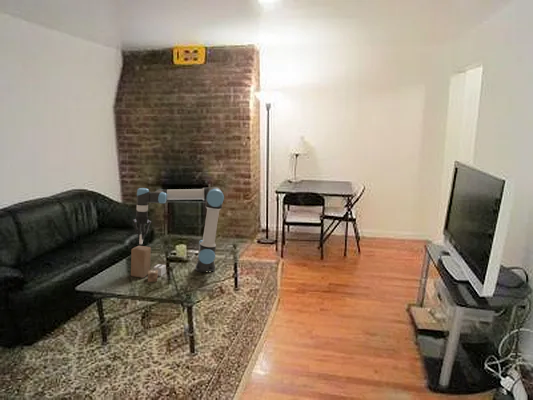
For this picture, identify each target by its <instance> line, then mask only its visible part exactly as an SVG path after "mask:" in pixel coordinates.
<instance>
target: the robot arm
mask: <svg viewBox="0 0 533 400" xmlns="http://www.w3.org/2000/svg"><path fill="white" fill-rule="evenodd" d="M170 200H171V201H172V200H173V201H175V200H176V201H177V200H179V201H180V200H186V201H187V200H202V201H203V202H204V201H205V208H206V216H205V221H204V230H203V236H202V239H200V240H199V241H198V254H197V262H196V264H195V269H194V270H195V271H196V272H198V273H202V272H206V271H213V272H215V271H216V264H215V258H216V249H217V244H216V242H215V241H216V236H217V229H218V223H219V222H218V220H219V214H220V211H221V210H222V209H223V202H224V200H225V196H224V193H223V190H222V189H221V188H219V187H218V186H212V187H211V186H208V187H202V188H191V189H190V188H188V189H187V188H185V189H184V188H183V189H181V188H179V189H171V188H170V189H163V188H158V189H156V190H155V191H150V190H149V188H146V187H139V188H137V192H136V212H135V214H136V215H135V216H136V217H135V219H132V223H133V227H134V231H135V233H134V234H135V235H137V239H138V240H139V241H138V242H139V243H138V244H139V245H143V242H144V239H145V235H147V234H148V232H149V228H150V226H151V223H152V220H149V211H148V210H149V203H151V204H166V202H167V201H170ZM146 223H147V224H146ZM214 270H215V271H214Z"/></svg>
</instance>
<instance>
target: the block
mask: <svg viewBox="0 0 533 400" xmlns="http://www.w3.org/2000/svg"><path fill="white" fill-rule="evenodd" d="M130 251H131V252H130V253H131V255H130V257H131V258H130V259H131V260H130V262H131V263H130V276H131V277H135V278H142V279H143V278H145V277H148V271H149V270H151V254H152V247H150V246H144V245H137V246H134V247H132V248H131V250H130Z"/></svg>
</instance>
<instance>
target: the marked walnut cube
mask: <svg viewBox="0 0 533 400" xmlns="http://www.w3.org/2000/svg"><path fill="white" fill-rule="evenodd" d="M158 277H159V276H158V270H154V269H153V270H152V269H150V270H149V271H148V275H147V282H148V283H149V282H150V283H151V282H153V283H155V282H156V283H157V281H158Z"/></svg>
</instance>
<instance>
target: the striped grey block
mask: <svg viewBox="0 0 533 400" xmlns="http://www.w3.org/2000/svg"><path fill="white" fill-rule="evenodd" d="M166 269H167V265H166V264H161V263H158V264H156V265H154V266H153V270H158V277H162V276H164V275H165V274H166V273H167V272H166V271H167V270H166Z"/></svg>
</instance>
